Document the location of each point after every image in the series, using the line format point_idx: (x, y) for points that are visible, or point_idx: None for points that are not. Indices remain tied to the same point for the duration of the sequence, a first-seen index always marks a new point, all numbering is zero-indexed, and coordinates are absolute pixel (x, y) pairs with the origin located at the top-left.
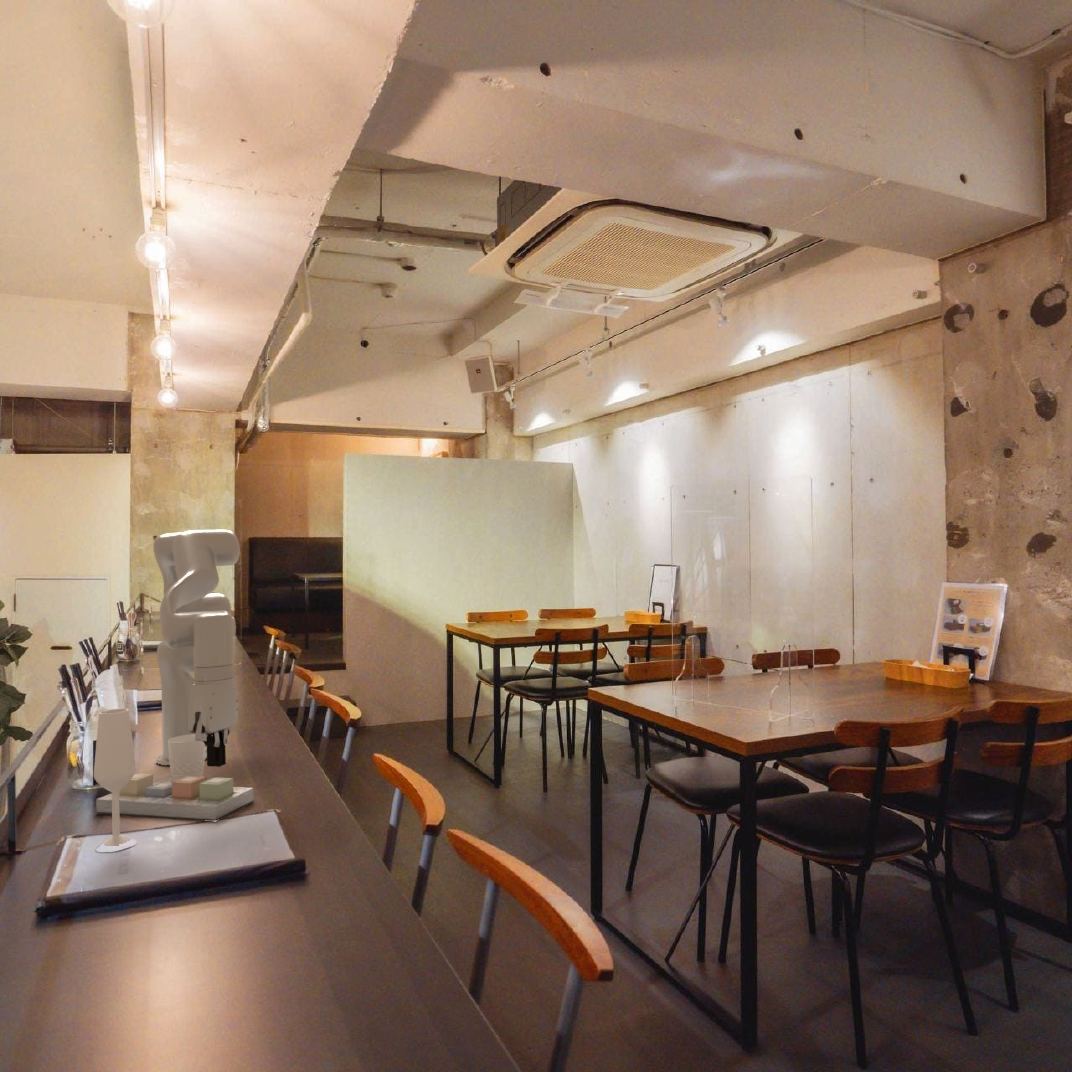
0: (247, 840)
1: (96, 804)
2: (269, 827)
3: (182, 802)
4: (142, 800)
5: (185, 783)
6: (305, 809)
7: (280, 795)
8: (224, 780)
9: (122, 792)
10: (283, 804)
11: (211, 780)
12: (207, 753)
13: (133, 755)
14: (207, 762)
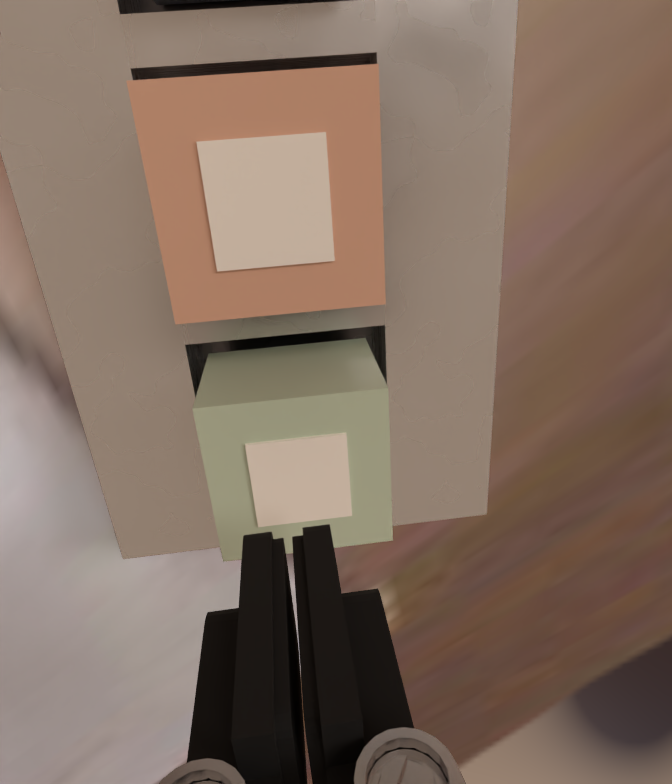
0: (38, 739)
1: None
2: (186, 718)
3: (92, 300)
4: None
5: (163, 263)
6: (409, 702)
7: (582, 509)
8: (328, 523)
9: None
10: (454, 600)
11: (289, 446)
12: (237, 649)
13: None
14: (244, 557)
